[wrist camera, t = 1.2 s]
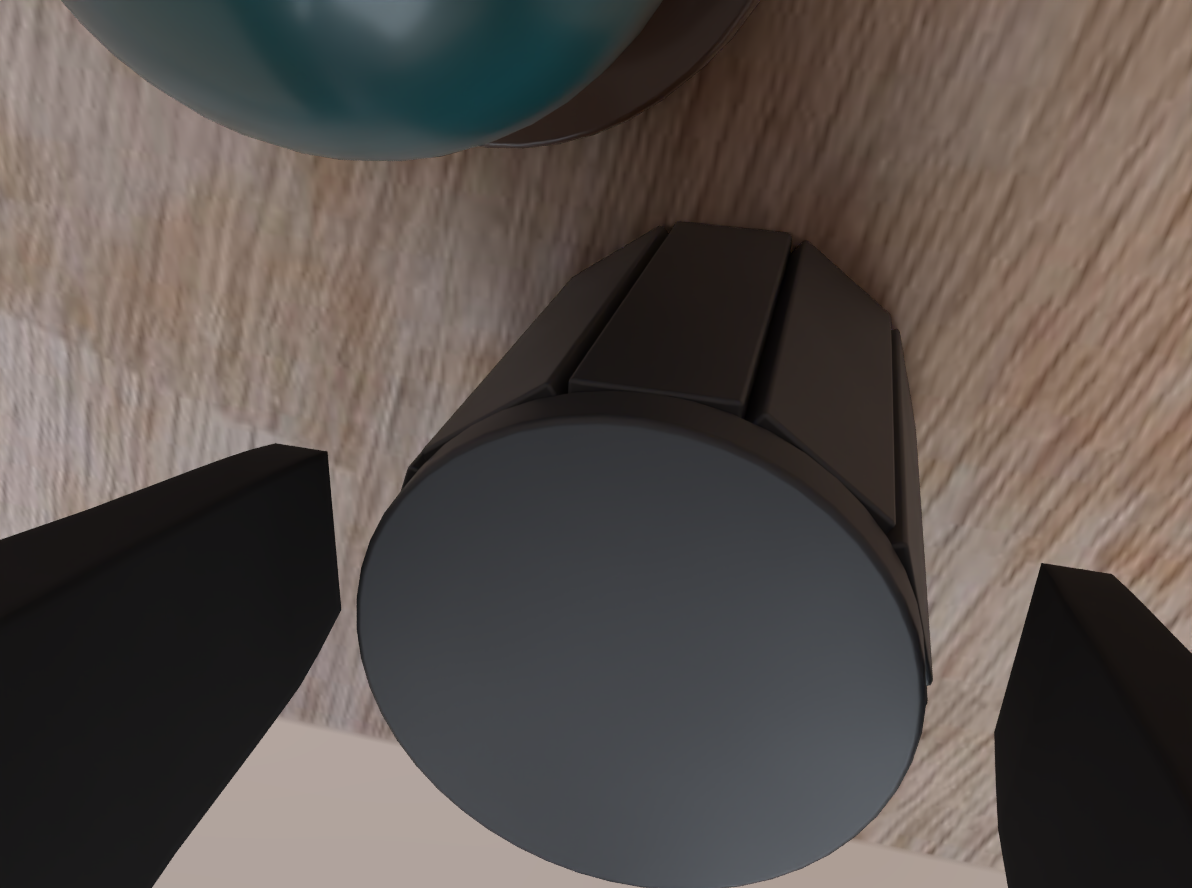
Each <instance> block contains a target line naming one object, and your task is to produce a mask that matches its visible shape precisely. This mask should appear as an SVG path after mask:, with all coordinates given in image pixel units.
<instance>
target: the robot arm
mask: <svg viewBox="0 0 1192 888" xmlns="http://www.w3.org/2000/svg"><path fill="white" fill-rule="evenodd" d="M340 611H341V600H340V589H339V578H338V566H337V555H336V544H335V532H334V521H333V510H332V498H331V487H330V475H329V464H328V453H327V451H321V450H314V449H308V448H302V447H295V446H289V445H282V444H276V443H275V444H271V445H267V446H263V447H259V448H255V449H252V450H249V451H245V452H242V453H239V454H236V455H233V456H230V457H227V458H224V459H222V460H219V461H216V462H213V463H210V464H208V465H205V466H202V467H200V468H197V469H194V470H191V471H189V472H186V473H184V474H181V475H178V476H176V477H173V478H170V479H168V480H165V481H162V482H160V483H157V484H154V485H152V486H149V487H147V488H144V489H141V490H139V491H136V492H133V493H131V494H128V495H125V496H123V497H120V498H118V499H115V500H112V501H110V502H107V503H104V504H102V505H99V506H96V507H94V508H91V509H88V510H85V511H83V512H80V513H77V514H74V515H71V516H68V517H65V518H62V519H59V520H57V521H54V522H51V523H48V524H45V525H42V526H39V527H36V528H33V529H30V530H28V531H25V532H22V533H19V534H16V535H13V536H10V537H7V538H4V539H2V540H0V888H152V887H153V885H154V884H155V882H156V881H157V879H158V878H159V877H160V875H161V874H162V872H163V871H164V869H165V868H166V866H167V865H168V864H169V862H170V861H171V859H172V858H173V856H174V855H175V853H176V852H177V851H178V849H179V848H180V847H181V845H182V844H183V843H184V841H185V840H186V839H187V837H188V836H189V835H190V833H191V832H192V831H193V829H194V828H195V827H196V825H197V824H198V823H199V821H200V820H201V819H202V817H203V816H204V815H205V813H206V812H207V811H208V809H209V808H210V807H211V806H212V804H213V803H214V801H215V800H216V799H217V798H218V796H219V795H220V794H221V792H222V791H223V790H224V788H225V787H226V786H227V784H228V783H229V782H230V780H231V779H232V777H233V776H234V775H235V773H236V772H237V771H238V770H239V768H240V767H241V766H242V764H243V763H244V762H245V760H246V759H247V758H248V756H249V755H250V753H251V752H252V751H253V750H254V748H255V747H256V745H257V744H258V743H259V741H260V740H261V739H262V738H263V736H264V735H265V733H266V732H267V731H268V729H269V728H270V727H271V725H272V724H273V723H274V721H275V720H276V719H277V717H278V716H279V715H280V713H281V712H282V710H283V709H284V708H285V706H286V705H287V704H288V702H289V701H290V699H291V698H292V697H293V695H294V694H295V692H296V691H297V690H298V688H299V687H300V685H301V684H302V682H303V680H304V678H305V676H306V675H307V673H308V671H309V669H310V668H311V666H312V664H313V662H314V661H315V659H316V657H317V655H318V654H319V652H320V650H321V648H322V646H323V644H324V642H325V640H326V638H327V636H328V634H329V633H330V631H331V629H332V627H333V625H334V623H335V621H336V619H337V617H338V615H339V613H340ZM994 737H995V771H996V796H997V816H998V831H999V837H1000V843H1001V849H1002V855H1003V861H1004V867H1005V872H1006V878H1007V884H1008V888H1192V653H1191V652H1190V651H1189V650H1188V649H1187V648H1186V647H1185V646H1184V645H1183V644H1182V643H1181V642H1180V641H1179V640H1178V639H1177V638H1176V637H1175V636H1174V635H1173V634H1172V633H1171V632H1170V631H1169V630H1168V629H1167V628H1166V627H1165V626H1164V625H1163V624H1162V623H1161V622H1160V621H1159V620H1158V619H1157V618H1156V617H1155V616H1154V615H1153V614H1152V612H1151V611H1150V610H1149V609H1148V608H1147V607H1146V606H1145V605H1144V604H1143V603H1142V602H1141V601H1140V600H1139V599H1138V598H1137V597H1136V596H1135V595H1134V594H1133V593H1132V592H1131V591H1130V590H1129V589H1128V588H1126V587H1125V586H1124V585H1123V584H1122V583H1121V582H1120V581H1119V580H1118V579H1117V578H1116V577H1115V576H1113V575H1112V574H1108V573H1102V572H1095V571H1089V570H1083V569H1076V568H1070V567H1063V566H1057V565H1051V564H1044V563H1041V567H1040V570H1039V574H1038V577H1037V581H1036V585H1035V588H1034V592H1033V595H1032V599H1031V602H1030V606H1029V610H1028V613H1027V617H1026V620H1025V624H1024V628H1023V631H1022V635H1021V638H1020V642H1019V646H1018V649H1017V653H1016V656H1015V660H1014V663H1013V667H1012V671H1011V674H1010V678H1009V681H1008V685H1007V689H1006V692H1005V696H1004V699H1003V703H1002V707H1001V710H1000V714H999V717H998V721H997V724H996V728H995V732H994Z"/></svg>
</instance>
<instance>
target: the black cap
mask: <svg viewBox="0 0 1192 888" xmlns="http://www.w3.org/2000/svg"><path fill="white" fill-rule="evenodd" d="M791 241H792V236H791V234H789V233H784V232H774V231H764V230H754V229H745V228H735V227H725V226H716V225H706V224H696V223H686V222H677V223H676V224H675V225H674V227H673V228H672V230H671V231H670V233H669V234H668V233H667V232H666V230H665V228H664V227H663V226H658V227H657V228H655V229H653V230H651V231H650V232H648V233H646V234H645V235H643V236H641V237H640V238H638V239H636V240H635V241H633V242H631V243H630V244H628V245H626V246H625V247H623V248H621V249H620V250H618V251H616V252H614V253H613V254H611V255H609V256H608V257H606V258H604V259H603V260H601V261H599V262H598V263H596V264H594V265H593V266H591V267H589V268H588V269H586V270H584V271H583V272H581V273H579V274H578V275H576V276H574V277H572V279H571V280H570V281H569V282H568V283H567V284H566V286H565V287H564V288H563V289H562V290H561V291H560V292H559V294H558V295H557V296H556V297H555V298H554V299H553V300H552V302H551V303H550V304H549V305H548V306H547V307H546V309H545V310H544V311H543V312H542V313H541V314H540V315H539V317H538V318H537V319H536V320H535V321H534V322H533V323H532V325H531V326H530V327H529V328H528V329H527V330H526V331H525V333H524V334H523V335H522V336H521V337H520V338H519V340H518V341H517V342H516V343H515V344H514V345H513V346H512V348H511V349H510V350H509V351H508V352H507V353H506V354H505V356H504V357H503V358H502V359H501V360H500V361H499V363H498V364H497V365H496V366H495V367H494V368H493V369H492V371H491V372H490V373H489V374H488V375H487V376H486V377H485V379H484V380H483V381H482V382H481V383H480V384H479V386H478V387H477V388H476V389H475V390H474V391H473V392H472V394H471V395H470V396H469V397H468V398H467V399H466V400H465V402H464V403H463V404H462V405H461V406H460V407H459V408H458V410H457V411H456V412H455V413H454V414H453V415H452V417H451V418H450V419H449V420H448V421H447V422H446V423H445V425H444V426H443V427H442V428H441V429H440V430H439V431H438V433H437V434H436V435H435V436H434V437H433V438H432V440H431V441H430V442H429V443H428V444H427V445H426V446H425V448H424V449H423V450H422V452H421V453H420V454H419V455H418V457H417V458H416V459H415V460H414V461H413V462H412V463H411V465H410V466H409V467H408V470H407V473H406V476H405V479H404V482H403V485H402V489H401V492H400V493H399V494H398V496H397V497H396V498H395V500H394V501H393V502H392V504H391V505H390V506H389V508H388V509H387V510H386V512H385V513H384V515H383V517H382V518H381V520H380V522H379V524H378V526H377V528H376V530H375V532H374V534H373V536H372V538H371V540H370V543H369V546H368V549H367V552H366V555H365V558H364V561H363V564H362V567H361V573H360V580H359V586H358V593H357V634H358V641H359V647H360V654H361V659H362V663H363V666H364V670H365V673H366V676H367V680H368V683H369V686H370V689H371V691H372V693H373V696H374V698H375V700H376V702H377V705H378V707H379V709H380V711H381V714H382V715H383V717H384V719H385V721H386V722H387V724H388V726H389V727H390V729H391V731H392V732H393V734H394V736H395V738H396V739H397V741H398V742H399V743H400V745H401V746H402V747H403V749H404V750H405V751H406V753H407V754H408V755H409V757H410V758H411V759H412V760H413V762H414V763H415V765H416V766H417V767H418V768H419V769H420V770H421V771H422V772H423V774H424V775H425V776H426V777H427V778H428V779H429V780H430V781H431V782H432V783H433V784H434V785H435V786H436V788H437V789H438V790H440V791H441V792H442V793H443V794H444V795H445V796H446V797H448V798H449V799H450V800H451V801H452V802H453V803H454V804H455V805H457V806H458V807H459V808H460V809H461V810H462V811H464V812H465V813H466V814H468V815H469V816H470V817H472V818H473V819H475V820H476V821H477V822H479V823H480V824H482V825H483V826H484V827H486V828H487V829H488V830H490V831H492V832H493V833H495V834H497V835H498V836H500V837H502V838H503V839H505V840H507V841H508V842H510V843H512V844H514V845H515V846H517V847H519V848H521V849H523V850H525V851H527V852H529V853H531V854H534V855H536V856H538V857H540V858H542V859H544V860H546V861H548V862H551V863H554V864H556V865H559V866H562V867H564V868H567V869H570V870H573V871H575V872H578V873H581V874H585V875H589V876H592V877H596V878H599V879H603V880H607V881H610V882H616V883H622V884H627V885H632V886H639V887H646V888H729V887H737V886H744V885H748V884H752V883H757V882H761V881H766V880H770V879H773V878H776V877H779V876H782V875H785V874H787V873H790V872H793V871H796V870H799V869H802V868H804V867H806V866H808V865H810V864H812V863H814V862H815V861H818V860H820V859H821V858H824V857H826V856H828V855H830V854H831V853H832V852H834V851H835V850H837V849H838V848H839V847H841V846H843V845H844V844H845V843H847V842H848V841H850V840H851V839H853V838H854V837H855V836H856V835H858V834H859V833H860V832H861V831H862V830H863V829H864V828H865V827H866V826H867V825H868V824H869V823H870V822H871V821H872V820H874V819H875V818H876V817H877V816H878V814H879V813H880V812H881V810H882V809H883V808H884V807H885V805H886V804H887V803H888V801H889V800H890V799H891V797H892V796H893V795H894V794H895V792H896V791H897V789H898V788H899V786H900V784H901V782H902V780H903V778H904V776H905V775H906V773H907V771H908V769H909V767H910V765H911V763H912V761H913V758H914V755H915V752H916V749H917V746H918V743H919V740H920V737H921V734H922V728H923V722H924V715H925V708H926V705H927V701H928V698H927V686H928V685H931V683H932V681H933V674H932V660H931V645H930V630H929V615H928V601H927V586H926V571H925V556H924V542H923V527H922V512H921V497H920V483H919V468H918V453H917V438H916V427H915V421H914V415H913V409H912V403H911V397H910V391H909V385H908V379H907V373H906V367H905V361H904V355H903V349H902V343H901V337H900V332H899V330H898V329H892V330H891V316H890V314H889V313H888V312H887V311H886V310H885V309H883V308H882V307H881V306H880V305H879V304H878V303H877V302H876V301H874V300H873V299H872V298H871V297H870V296H869V295H868V294H867V293H866V292H864V291H863V290H862V289H861V288H860V287H859V286H858V285H857V284H855V283H854V282H853V281H852V280H851V279H850V278H849V277H848V276H846V275H845V274H844V273H843V272H842V271H841V270H840V269H839V268H837V267H836V266H835V265H834V264H833V263H832V262H831V261H830V260H829V259H827V258H826V257H825V256H824V255H823V254H822V253H821V252H820V251H818V250H817V249H816V248H815V247H814V246H813V245H812V244H811V243H809V242H808V241H804V242H802V243H801V244H800V246H799V247H798V248H797V249H796V250H795V251H794V252H793V253H792V254H791V255H790V249H791Z"/></svg>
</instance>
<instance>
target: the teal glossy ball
mask: <svg viewBox="0 0 1192 888" xmlns="http://www.w3.org/2000/svg"><path fill="white" fill-rule="evenodd" d="M61 1H62V2H63V3H64V4H65V6H66V7H67V8H68V9H69V10H70V11H71V13H72V14H73V15H74V16H75V17H76V18H77V19H78V21H79V22H80V23H81V24H82V25H83V26H84V27H85V28H86V29H87V30H88V31H89V32H90V33H91V34H92V35H93V36H94V37H95V38H96V39H97V40H99V41H100V42H101V43H102V44H103V45H104V46H105V47H106V48H107V49H108V50H109V51H110V52H111V53H112V54H113V55H114V56H115V57H117V58H118V59H119V60H120V61H122V62H123V63H124V64H126V65H127V66H128V67H129V68H131V69H132V70H133V71H135V72H136V73H137V74H138V75H140V76H141V77H142V78H144V79H145V80H146V81H147V82H149V83H150V84H152V85H153V86H155V87H156V88H158V89H159V90H161V91H163V92H164V93H166V94H167V95H169V96H170V97H172V98H174V99H175V100H177V101H179V102H180V103H182V104H183V105H185V106H187V107H188V108H190V109H192V110H193V111H195V112H197V113H198V114H200V115H201V116H203V117H205V118H207V119H209V120H211V121H214V122H216V123H218V124H220V125H222V126H224V127H227V128H229V129H231V130H233V131H235V132H238V133H240V134H242V135H245V136H248V137H251V138H255V139H258V140H261V141H264V142H267V143H271V144H274V145H277V146H280V147H284V148H287V149H290V150H293V151H296V152H300V153H303V154H309V155H315V156H321V157H327V158H333V159H339V160H362V161H407V160H415V159H424V158H432V157H440V156H444V155H448V154H452V153H455V152H459V151H463V150H466V149H470V148H474V147H477V146H480V147H486V148H530V147H539V146H547V145H555V144H561V143H565V142H569V141H572V140H576V139H580V138H584V137H587V136H591V135H595V134H597V133H599V132H602V131H604V130H606V129H609V128H611V127H613V126H616V125H618V124H621V123H623V122H625V121H628V120H630V119H631V118H633V117H635V116H636V115H638V114H640V113H641V112H643V111H645V110H646V109H648V108H650V107H651V106H653V105H655V104H656V103H658V102H660V101H661V100H663V99H664V98H666V97H667V96H668V95H669V94H671V93H672V92H673V91H674V90H676V89H677V88H678V87H679V86H681V85H682V84H683V83H684V82H686V81H687V80H688V79H689V78H691V77H692V76H693V75H694V74H696V73H697V72H698V71H699V70H701V69H702V68H703V67H704V66H705V65H706V64H707V63H708V62H709V61H710V60H711V59H712V58H713V57H714V56H715V55H716V54H717V53H718V52H719V51H720V50H721V49H722V48H723V47H724V46H725V45H726V44H727V43H728V42H729V41H730V40H731V38H732V37H733V36H734V35H735V34H736V32H737V31H738V30H739V28H740V27H741V26H742V24H743V23H744V22H745V20H746V19H747V18H748V16H749V15H750V14H751V12H752V11H753V10H754V8H755V7H756V6H757V4H758V3H759V1H760V0H61Z"/></svg>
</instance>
